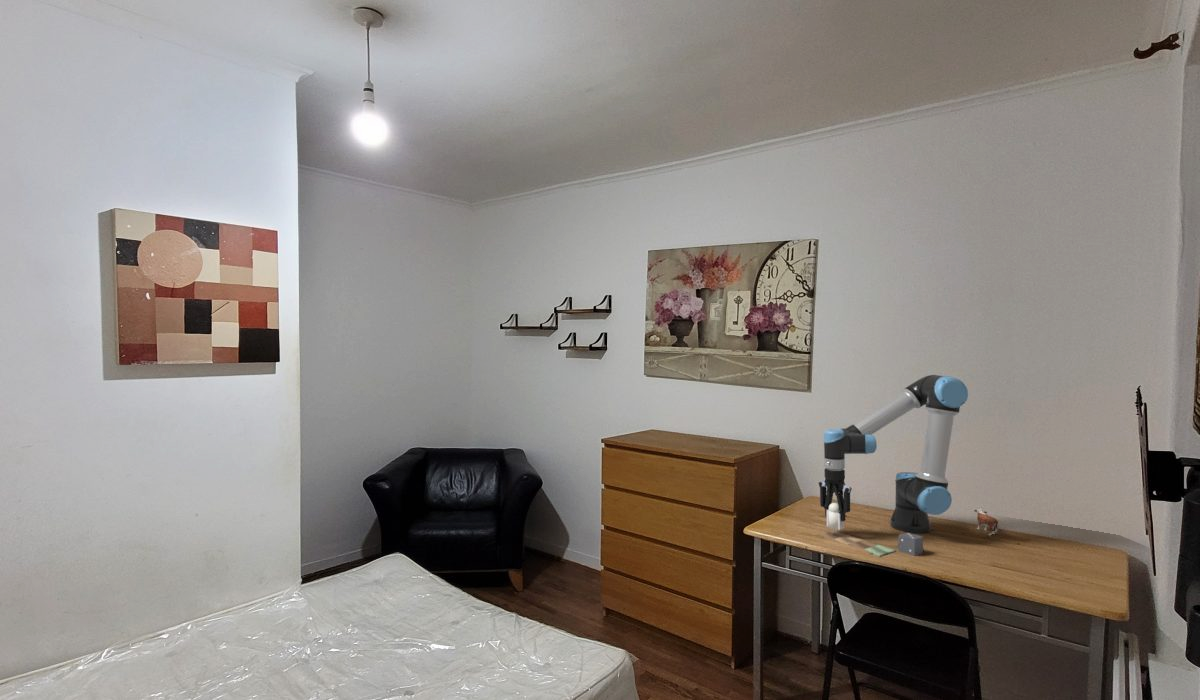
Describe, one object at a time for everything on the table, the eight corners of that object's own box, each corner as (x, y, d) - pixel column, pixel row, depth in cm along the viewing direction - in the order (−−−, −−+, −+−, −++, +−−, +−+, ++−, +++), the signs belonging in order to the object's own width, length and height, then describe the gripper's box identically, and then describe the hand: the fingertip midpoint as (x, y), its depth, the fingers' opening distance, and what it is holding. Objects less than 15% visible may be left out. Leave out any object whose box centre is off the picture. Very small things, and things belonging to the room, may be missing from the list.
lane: (834, 532, 241) (834, 530, 241) (895, 551, 220) (895, 549, 220) (818, 536, 236) (818, 534, 236) (879, 556, 214) (879, 554, 214)
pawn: (833, 526, 239) (833, 500, 239) (843, 529, 235) (843, 503, 235) (826, 528, 236) (826, 502, 236) (836, 531, 233) (836, 505, 233)
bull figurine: (982, 526, 251) (982, 507, 251) (1000, 537, 237) (1000, 517, 237) (971, 526, 251) (971, 507, 251) (988, 536, 238) (989, 516, 238)
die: (906, 548, 224) (907, 531, 224) (922, 553, 219) (923, 536, 219) (897, 551, 220) (898, 534, 220) (914, 556, 215) (914, 539, 215)
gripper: (809, 466, 241) (810, 523, 241) (848, 474, 226) (849, 534, 227) (821, 464, 245) (822, 520, 245) (860, 471, 230) (861, 531, 231)
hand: (835, 527), depth 236 cm, fingers closed on pawn, 4 cm apart
